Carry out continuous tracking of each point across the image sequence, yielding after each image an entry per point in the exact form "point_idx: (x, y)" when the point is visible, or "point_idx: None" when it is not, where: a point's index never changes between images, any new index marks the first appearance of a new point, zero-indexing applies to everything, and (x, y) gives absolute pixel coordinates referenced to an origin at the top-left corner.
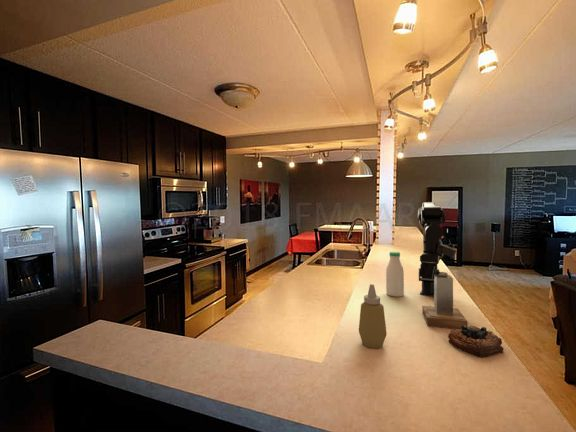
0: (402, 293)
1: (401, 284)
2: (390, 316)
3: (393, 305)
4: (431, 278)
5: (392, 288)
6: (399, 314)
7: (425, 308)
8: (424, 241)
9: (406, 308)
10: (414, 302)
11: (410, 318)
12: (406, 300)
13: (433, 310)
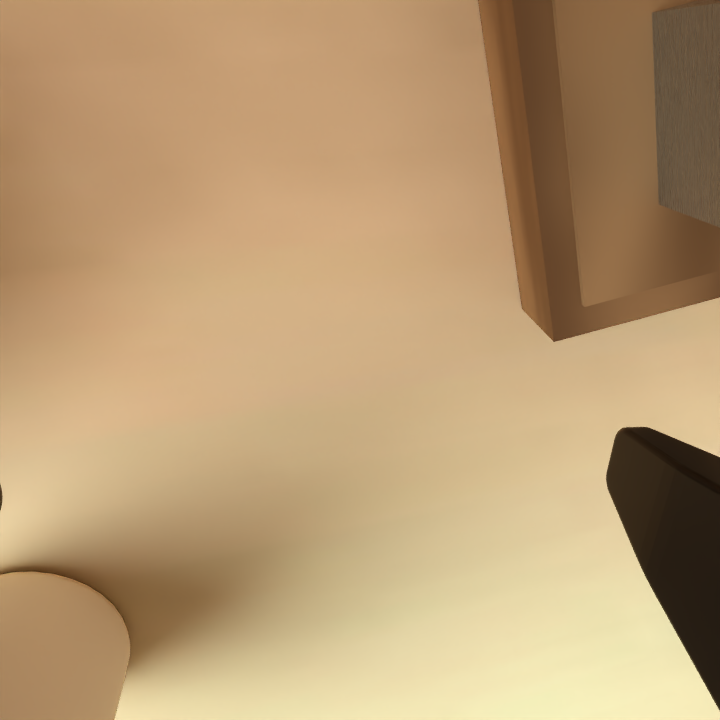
0: (46, 593)
1: (23, 698)
2: None
3: (406, 562)
4: (651, 441)
5: (111, 714)
6: None
7: (641, 298)
8: None
9: (437, 457)
10: (193, 433)
11: (695, 378)
12: (174, 508)
13: None
